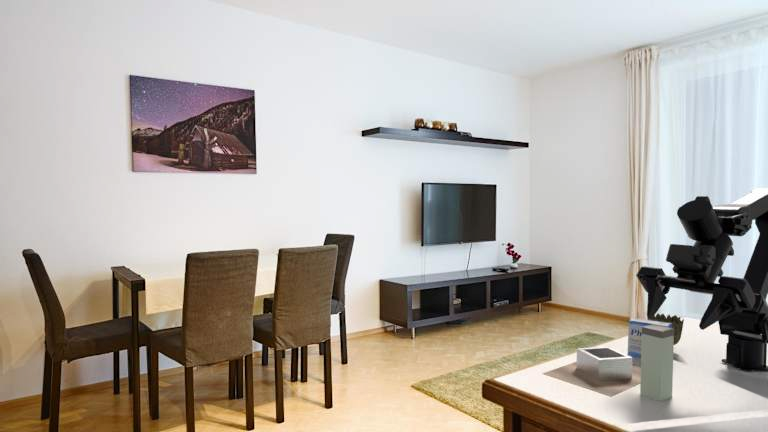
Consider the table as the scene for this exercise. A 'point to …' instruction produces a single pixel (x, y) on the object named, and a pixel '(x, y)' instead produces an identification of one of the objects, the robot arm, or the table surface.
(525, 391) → the table surface
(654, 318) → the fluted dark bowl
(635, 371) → the beige rectangular plate
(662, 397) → the pale green prism
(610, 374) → the hollow square tube
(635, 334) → the medicine box
